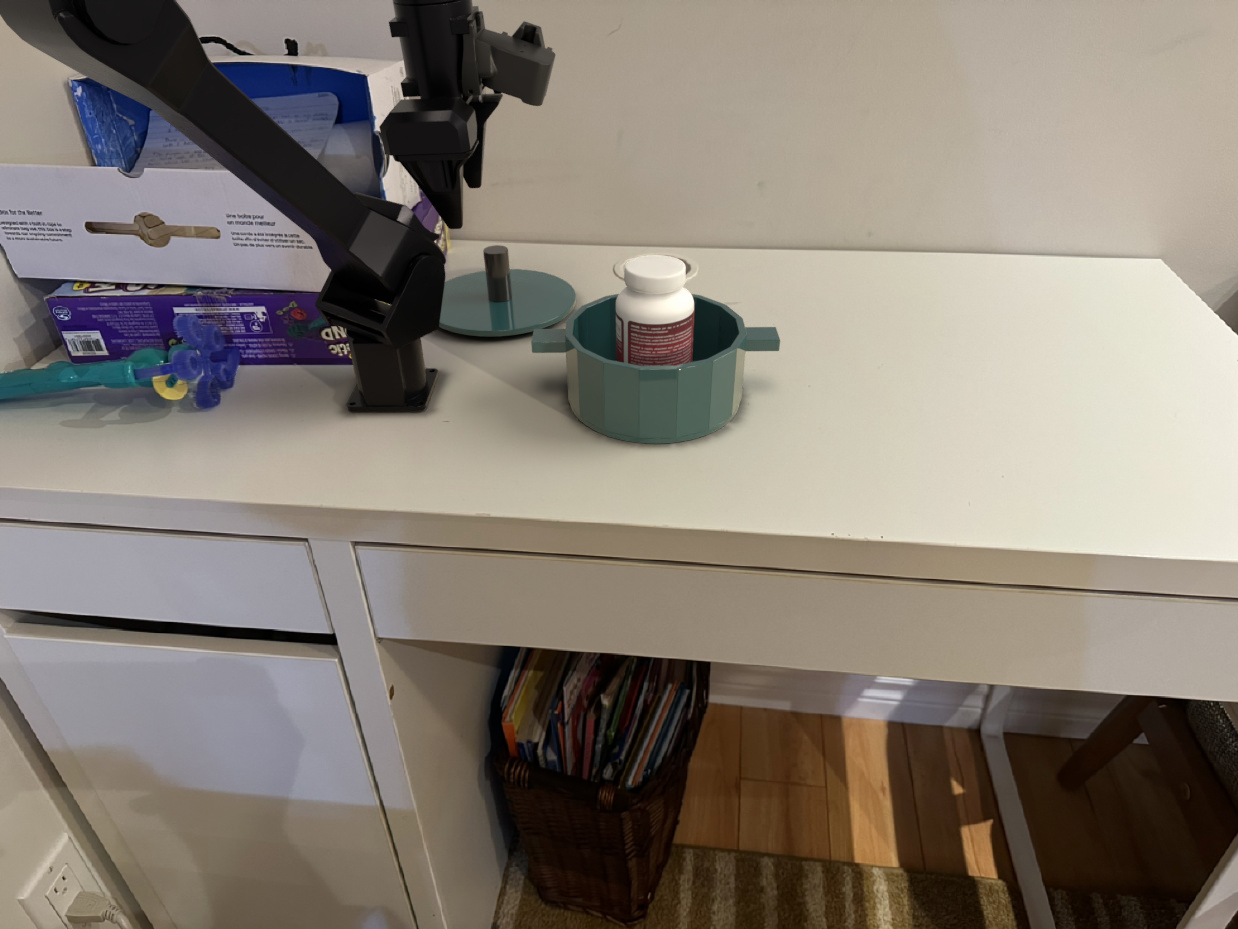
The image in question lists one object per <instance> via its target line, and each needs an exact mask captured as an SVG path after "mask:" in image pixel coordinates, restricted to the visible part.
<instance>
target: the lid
mask: <svg viewBox="0 0 1238 929" xmlns="http://www.w3.org/2000/svg"><path fill="white" fill-rule="evenodd" d="M482 252H483V262H484V270H482V271H476V272H470V273H466V274H463V275H459V276H456V277H454V278H450V279H449V280H445V285H444V293H443V300H442V308H441V316H440V323H439V328H440V329H442V330H445V331H448V332H451V333H455V334H459V335H464V336H470V337H471V336H472V337H473V336H474V337H508V336H517V335H521V334H528V333H533V332H534V329H546V328H548V327H551V326H553V325H555V324H557V323H559V322H561V321H562V320H564V319H565V318H566V317H567V316H569V315H570V314H571V313H572V312H573V311H574V308H575V307H576V304H577V293H576V291H575V289H574V287H573V286H572V285H571V284H570V283H569V282H567V280H565V279H563V278H561V277H559V276H556V275H554V274H551V273H547V272H543V271H537V270H532V269H519V268H511V266H510V255H509V248H508V247H506V246H504V245H501V244H499V245H496V244H495V245H489V246H487V247H485V248H483V250H482Z"/></svg>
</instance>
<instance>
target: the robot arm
mask: <svg viewBox="0 0 1238 929" xmlns="http://www.w3.org/2000/svg"><path fill="white" fill-rule="evenodd" d="M392 6H393V12H394V17H393V18H392V19H391V20H389V21H388V26H389V31H390V32H389V33H390V37H391V38H399V43H400V48H401V54H402V60H403V64H404V69H405V75H406V77H404V78H403V80H402V81H401V82H400V88H401V93H402V97H403V99H400V100H399V101H398V102H397V103H396V105H395V106H394V107H393V108H392V109H391V110H389V113H388V114H387V115H386V116H385V118H384V119H383V121H382V122H381V124H380V125H379V131H380V136H381V140H382V141H381V142H382V145H383V150H384V153H385V155H388V156H392V158H393V160H394V161H395V162H397V163H400V164H401V165H402V167H403V168H404V169H405V171H406V172H407V173H408V174H409V176H410V177H411V179H412V180H413V181H414V182H415V183H416V185H417V186H418V187H419V189H420V190H421V191H422V193H423V194H424V196H425V197H426V198H427V200H428V201H429V202H430V204H431V206H432V208H434V210H435V211H436V213H437V214H438V216H439V217H440V218H441V220H442V221H443V223H444V224H445V225H446V227H447V228H448V229H450V230H460V229H462V228H463V225H464V181H465V183H466V186H467V187H468V188H469V189H480V188H481V187H482V183H483V173H484V172H483V170H484V158H485V146H486V145H485V144H486V134H487V132H486V131H487V123H488V119H489V118H490V117H491V115H492V114H493V113H494V112H495V110H496V109H497V108H498V106H499V104H500V102H501V101H502V100H503V97H504V95H507V96H509V97H513V98H516V99H519V100H521V102H522V103H523V104H526V105H529V106H533V107H541V106H542V105H543V104H544V100H545V97H546V96H547V92H548V88H549V84H550V79H551V76H552V71H553V68H554V63H555V59H556V53H555V52H554V51H553V48H552V47H550V46H547V47H546V44H545V40H544V34H543V31H542V27H541V26H540V25H538V24H537V25H536V24H534V23H531V22H528V21H524V20H523V21H522V23H520V25H519V26H518V28H516V30H515V31H514V33H513V34H512V35H509V34H508V32H506V31H502V32H497V31H493V30H490V29H487V28H486V24H485V17H484V12H483V11H482V10H480V9H479V6H478V5H474V4H473V0H392ZM0 17H1V19H2V20H3V21H4V23H5V24H6V26H8V27H9V28H10V29H11V30H12V31H13V33H15V34H16V36H18V37H19V38H20V39H21V40H22V41H23V42H25V43H27V44H28V45H30V46H31V47H32V48H34V49H37V50H38V51H40V52H41V53H43V54H45V55H47V56H48V57H51V58H52V59H54V60H55V61H58V62H59V63H61V64H63V65H64V66H66V67H68V68H70V69H72V70H73V71H75V72H77V73H79V74H80V75H83V76H84V77H86V78H88V79H90V80H93V81H94V82H96V83H99V84H100V85H102V86H105V87H107V88H108V89H111V90H113V91H114V92H117V93H119V94H121V95H123V96H126V97H127V98H129V99H131V100H133V101H135V102H138V103H139V104H141V105H144V106H145V107H147V108H149V109H151V110H152V111H153V112H154V113H156V114H157V115H159V116H160V117H161V118H162V119H163V120H164V121H166V122H167V123H168V124H170V125H171V126H172V127H173V128H175V129H176V131H178V132H179V133H181V134H182V135H183V136H185V137H186V138H187V139H189V140H190V141H191V142H192V143H193V144H195V145H196V146H197V147H198V148H200V149H201V150H202V151H203V152H205V153H206V154H207V155H208V156H209V157H211V158H212V159H213V160H215V162H217V163H218V164H219V165H221V166H222V167H223V168H225V169H226V170H227V171H229V172H230V173H231V174H232V175H233V176H234V177H236V178H237V179H239V181H241V182H242V183H244V184H245V185H246V186H247V187H249V188H250V189H251V190H252V191H254V192H255V193H256V194H257V195H258V196H260V197H261V198H262V199H263V200H264V201H266V202H267V203H268V204H270V205H271V206H272V207H274V209H276V210H277V211H278V212H280V213H281V214H282V215H283V216H285V217H286V218H287V219H289V220H290V221H291V222H292V223H293V224H295V225H296V226H297V227H298V228H300V229H301V230H303V231H304V232H305V234H307V235H308V236H310V237H311V239H312V240H313V241H314V243H315V244H316V248H317V249H318V252H319V254H320V257H321V260H322V261H323V262H324V264H325V265H326V266H327V267H328V268H329V269H330V271H329V274H328V276H327V278H326V279H325V282H324V283H323V285H322V288H321V290H320V292H319V294H318V296H317V298H316V300H315V303H314V306H315V308H316V310H317V311H318V312H319V314H320V316H321V317H322V319H323V321H324V322H325V323H326V324H329V325H335V326H337V327H340V328H342V329H345V334H346V339H347V343H348V348H349V352H350V356H351V362H352V366H353V371H354V375H355V381H356V385H355V387H354V389H353V391H352V393H351V395H350V396H349V399H348V400H347V402H346V405H345V406H346V409H347V411H348V412H419V411H424V410H426V409H427V407H428V405H429V403H430V399H431V396H432V394H433V392H434V389H435V386H436V383H437V380H438V377H439V369H438V368H434V367H433V368H432V367H430V368H429V367H428V368H427V367H426V364H425V363H426V362H425V357H424V351H423V344H422V338H424V337H425V336H427V335H429V334H432V333H434V332H436V331H437V330H439V328H440V327H439V323H440V316H441V308H442V300H443V293H444V285H445V282H446V268H445V265H446V264H447V257H446V255H445V253H444V251H443V249H442V248H441V247H440V245H439V244H438V243H436V241H437V240H439V239H440V234H439V233H437V232H433V231H430V230H429V229H428V228H426V227H425V225H424V224H423V223H422V222H421V220H420V219H419V217H418V216H417V215H416V213H415V212H414V211H413V210H412V209H411V208H410V207H409V206H407V205H406V204H403V203H398V202H394V201H392V200H391V201H390V200H388V199H383V198H379V197H375V196H372V195H369V194H364V193H360V192H357V191H355V192H354V193H353V192H352V191H351V190H350V189H349V188H348V186H346V185H345V184H344V183H343V182H342V181H341V180H339V179H338V178H337V177H336V176H335V175H334V174H333V173H332V172H331V171H330V170H329V169H327V168H326V167H325V166H324V165H323V164H322V163H321V162H320V161H319V160H318V159H316V157H314V156H313V155H312V154H311V153H310V151H308V150H307V149H306V148H305V147H304V146H302V145H301V144H300V143H299V142H298V141H297V140H296V139H295V138H294V137H292V136H291V135H290V134H289V133H288V132H287V131H286V130H285V128H282V127H281V125H279V124H278V123H277V122H276V121H275V120H274V119H273V118H272V117H271V116H269V115H268V114H267V113H266V112H265V111H264V110H263V109H262V108H261V107H260V106H259V105H258V104H257V103H255V101H253V100H252V99H251V98H250V97H249V96H248V95H247V94H246V93H245V92H244V91H242V90H241V89H240V88H239V87H238V86H237V85H236V84H235V83H233V81H231V79H229V78H228V77H227V75H225V74H224V73H223V72H222V71H221V70H219V69H218V67H217V66H216V65H214V63H213V62H212V60H211V59H210V57H208V55H207V52H206V50H205V47H204V46H203V43H202V42H201V40H200V38H199V35H198V33H197V31H196V29H195V26H194V24H193V22H192V20H191V18H190V17H189V15H188V13H187V12H186V11H185V10H184V9H183V7H182V6H181V5H180V3H179V2H178V1H177V0H0ZM486 88H487V89H490V90H491V91H493V93H487V90H486ZM503 94H504V95H503ZM411 97H412V98H411ZM416 97H417V98H416ZM418 97H419V98H418ZM404 98H406V99H404Z"/></svg>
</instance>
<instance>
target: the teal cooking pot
mask: <svg viewBox="0 0 1238 929" xmlns="http://www.w3.org/2000/svg"><path fill="white" fill-rule="evenodd" d="M618 295H619V293H615V294H610V295H605V296H602V297H600V298H598V299H595V300H593V301H591V302H588V303H585V304H583V305H581V306H580V307H579V308H578V309H577V310H576V311H574V312H573V313H572V314H571V315H570V316H568V318H567V319H566V323H565V328H543V329H534V331H532V337H531V338H532V339H531V343H530V344H531V353H532V354H552V353H553V354H557V353H559V354H562V353H563V354H565V363H566V381H567V382H566V383H567V384H566V385H567V400H568V402H569V406H570V409H571V411H572V412H573V414H574V416H575V417H576V418H577V419H578V420H579V421H580V422H581V423H582V424H583V425H585V426H586V427H588V428H590V429H592V430H593V431H594V432H597V433H599V434H601V435H604V436H607V437H609V438H612V439H618V440H620V441H624V442H625V441H626V442H629V443H637V444H652V445H653V444H657V445H659V444H673V443H682V442H686V441H692V440H695V439H698V438H702V437H705V436H708V435H710V434H713V433H714V432H716V431H718V430H720V429H722V428H723V427H724V426H726V425H727V424H729V423H730V422H731V421H732V420H733V419H734V417H735V416H736V414H737V412H738V410H739V408H740V403H741V401H742V399H743V386H744V375H745V361H746V352H779V351H780V346H781V339H780V336H779V332H778V330H777V326H746V325H745V322H744V318H743V317H742V316H741V315H739V314H738V313H737V312H736V311H735V310H733V309H732V308H731V307H730V306H728V305H727V304H725V303H723V302H720V301H718V300H714V299H712V298H709V297H706V296H704V295H700V294H696V293H691V295H692V297H693V300H694V326H693V352H692V362H690V363H685V364H680V365H665V366H639V365H634V364H629V363H623V362H618V361H617V358H616V299H617V297H618Z"/></svg>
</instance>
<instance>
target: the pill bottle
mask: <svg viewBox="0 0 1238 929" xmlns="http://www.w3.org/2000/svg"><path fill="white" fill-rule="evenodd" d="M686 267H687V266H686V264H685V263H684V261H682V260H681V259H679V258H677V257H674V256H670V255H663V254H646V255H640V256H636V257H632V258H631V259H629V260H628V261H627V262H625V265H624V268H623V269H624V270H623V281H624V284H625V286H626V287H624V288H623V289H622V290H621V291H620V292H619V293H618V294H619V295H618V297H617V299H616V358H617V361H618V362H623V363H629V364H634V365H639V366H665V365H680V364H685V363H690V362H692V352H693V326H694V300H693V297H692V295H691V294H692V293H691V292H690V290H688V289H687V288H686V287H685V283H686V282H687V276H686V275H687V274H686V272H687V268H686Z"/></svg>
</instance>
